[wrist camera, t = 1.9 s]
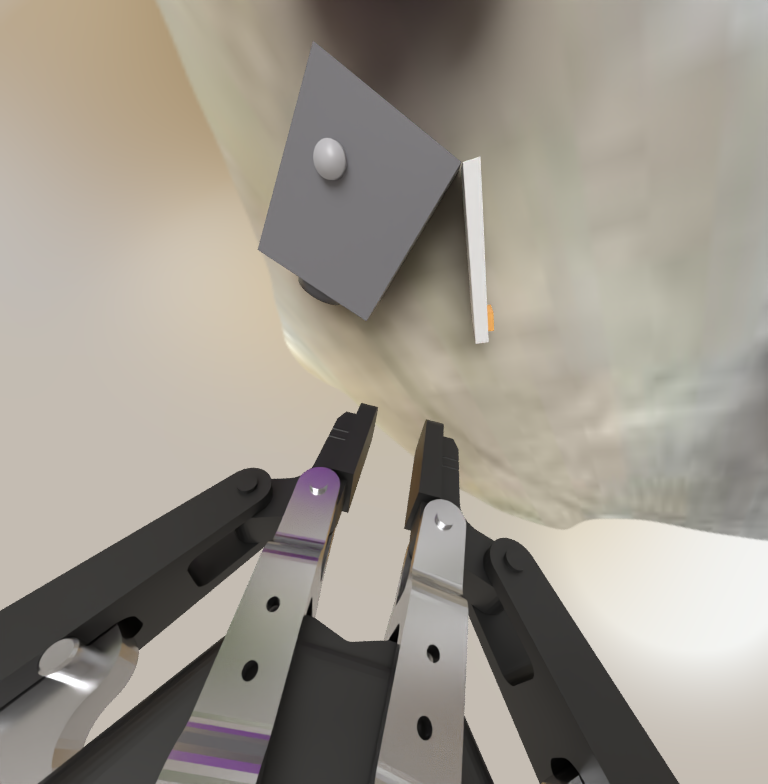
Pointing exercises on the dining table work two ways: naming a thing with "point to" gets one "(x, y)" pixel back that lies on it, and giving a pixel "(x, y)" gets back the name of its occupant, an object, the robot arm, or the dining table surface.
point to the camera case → (351, 188)
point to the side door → (476, 249)
